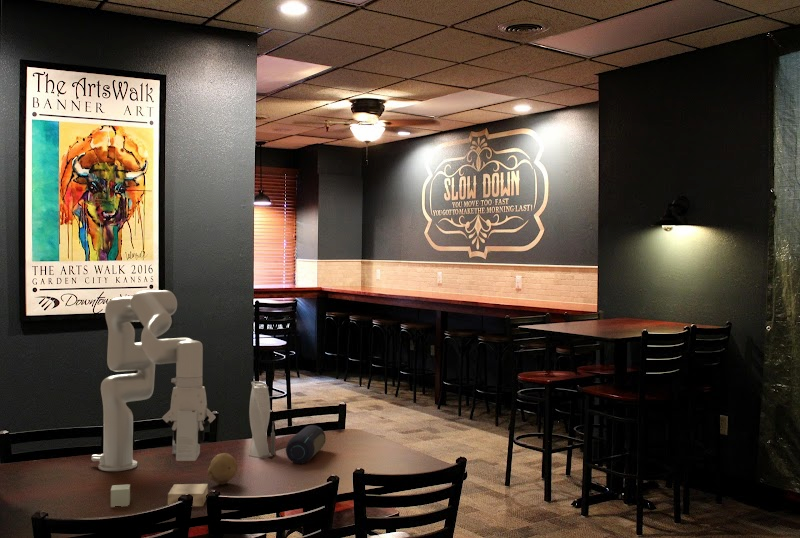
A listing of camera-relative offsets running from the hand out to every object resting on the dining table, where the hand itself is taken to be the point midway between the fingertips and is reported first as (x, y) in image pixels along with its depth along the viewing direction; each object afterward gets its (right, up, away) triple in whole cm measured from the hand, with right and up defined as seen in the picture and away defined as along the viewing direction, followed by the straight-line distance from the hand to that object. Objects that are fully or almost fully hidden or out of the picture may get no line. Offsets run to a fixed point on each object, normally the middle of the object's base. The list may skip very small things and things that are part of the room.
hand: (188, 442), depth 233 cm
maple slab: (0, -18, 0) cm, 18 cm away
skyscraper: (+11, -17, +55) cm, 58 cm away
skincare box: (0, -5, 0) cm, 5 cm away
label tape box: (-19, -17, +59) cm, 64 cm away
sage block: (-19, -17, -3) cm, 26 cm away
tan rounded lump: (+6, -18, +17) cm, 26 cm away
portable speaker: (+29, -17, +53) cm, 63 cm away
